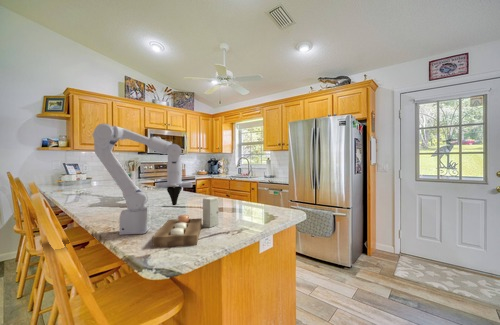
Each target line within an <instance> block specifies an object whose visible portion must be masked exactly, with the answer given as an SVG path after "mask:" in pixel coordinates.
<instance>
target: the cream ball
mask: <svg viewBox="0 0 500 325" xmlns="http://www.w3.org/2000/svg"><path fill="white" fill-rule="evenodd" d="M175 228H187V226H186V223H184V222H180V223H176V224H175Z"/></svg>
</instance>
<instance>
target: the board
mask: <svg viewBox="0 0 500 325" xmlns="http://www.w3.org/2000/svg"><path fill="white" fill-rule="evenodd" d="M176 223H178V218H177V219H172V218H171V219H167V220H166V222H165V223H164V224H163V225H162V226H161V227H160V228H159V230H157V232H156V234H155V235H154V236H153V237H152V247H153V248H158V247H159V248H162V247H176V246H177V247H178V246H179V247H180V246H192V245H193V246H195V245H197V244H198V240H199V238H200V237H199V236H200V234H201V229H202V227H203V217H202V218H200V217H199V218H189V223H186V226H187V228H183V229H184V235H171V230H172V229H174V228H175V224H176Z"/></svg>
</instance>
